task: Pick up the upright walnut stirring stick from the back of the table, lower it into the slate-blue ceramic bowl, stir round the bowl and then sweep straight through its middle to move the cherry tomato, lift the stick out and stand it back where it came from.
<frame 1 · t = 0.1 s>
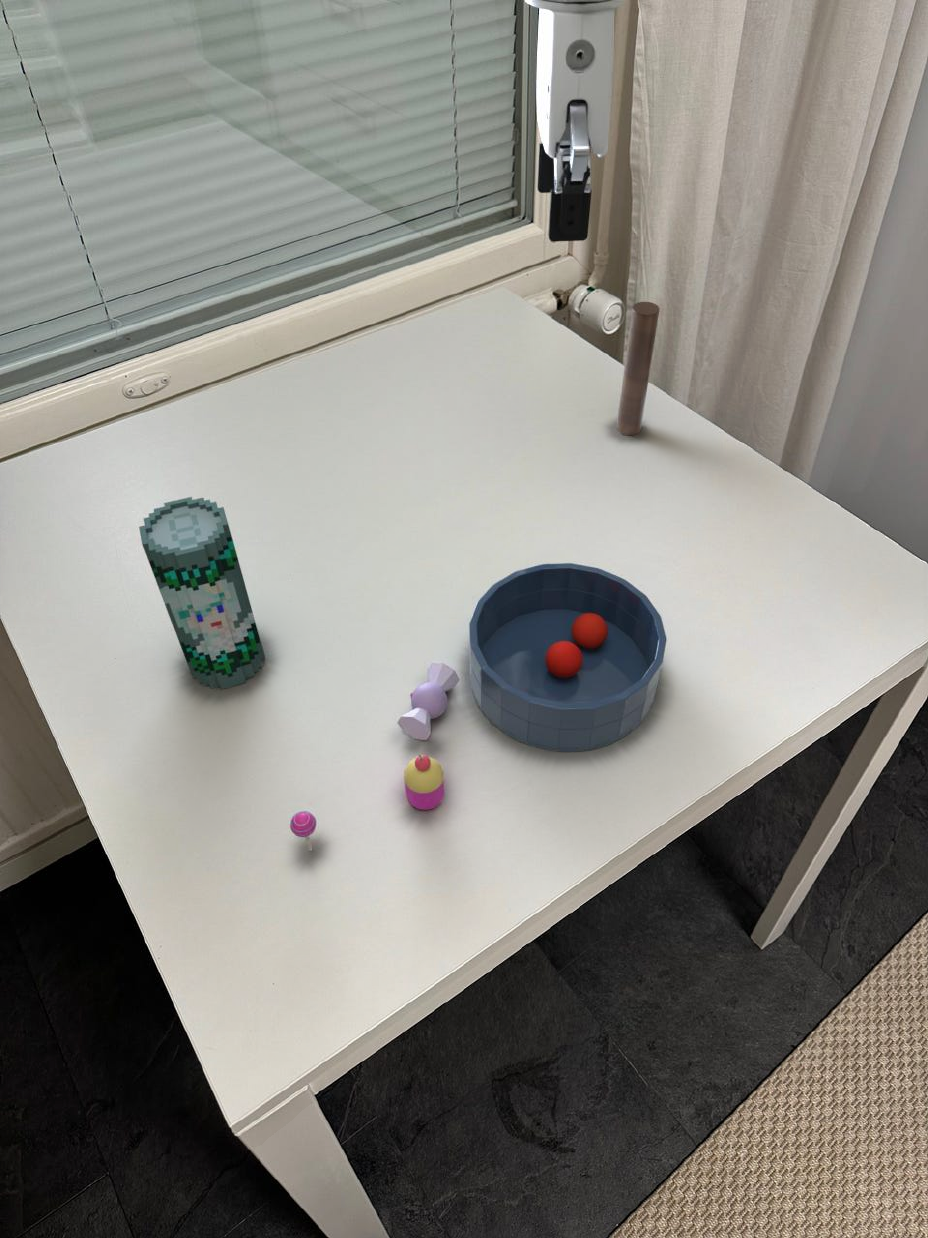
hand: (561, 214, 77), 24 cm above the table, tool pointing down, fingers open, 9 cm apart
bowl: (562, 675, 74), on the table
tomato a: (563, 659, 72), point 2 cm above the table, touching bowl
can: (227, 661, 75), on the table
stick: (628, 428, 97), on the table
tomato b: (589, 630, 74), point 2 cm above the table, touching bowl
candy: (399, 774, 67), on the table
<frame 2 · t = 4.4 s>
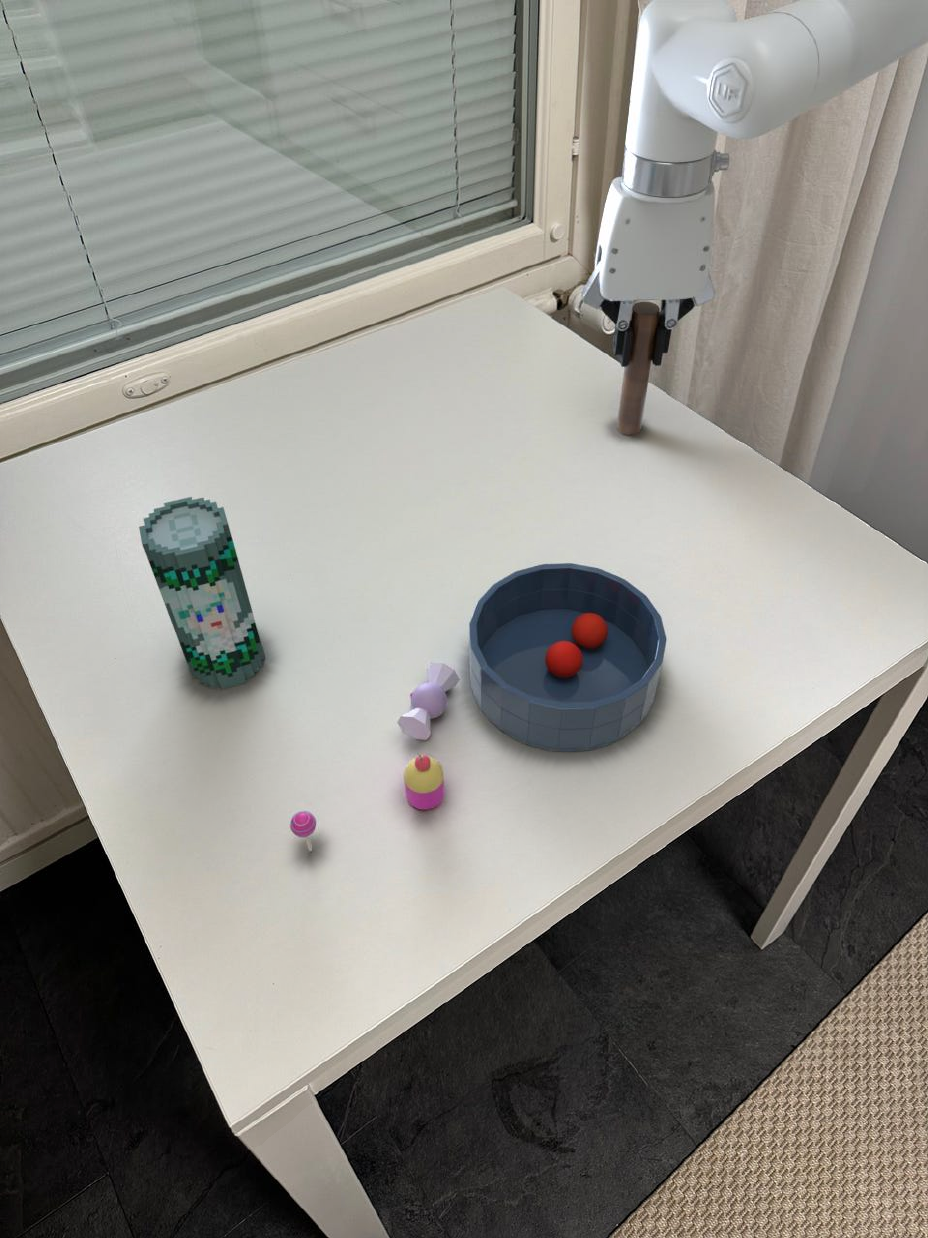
hand: (638, 357, 90), 9 cm above the table, tool pointing down, fingers closed on stick, 2 cm apart
stick: (628, 428, 97), on the table, touching gripper
everything else where it was.
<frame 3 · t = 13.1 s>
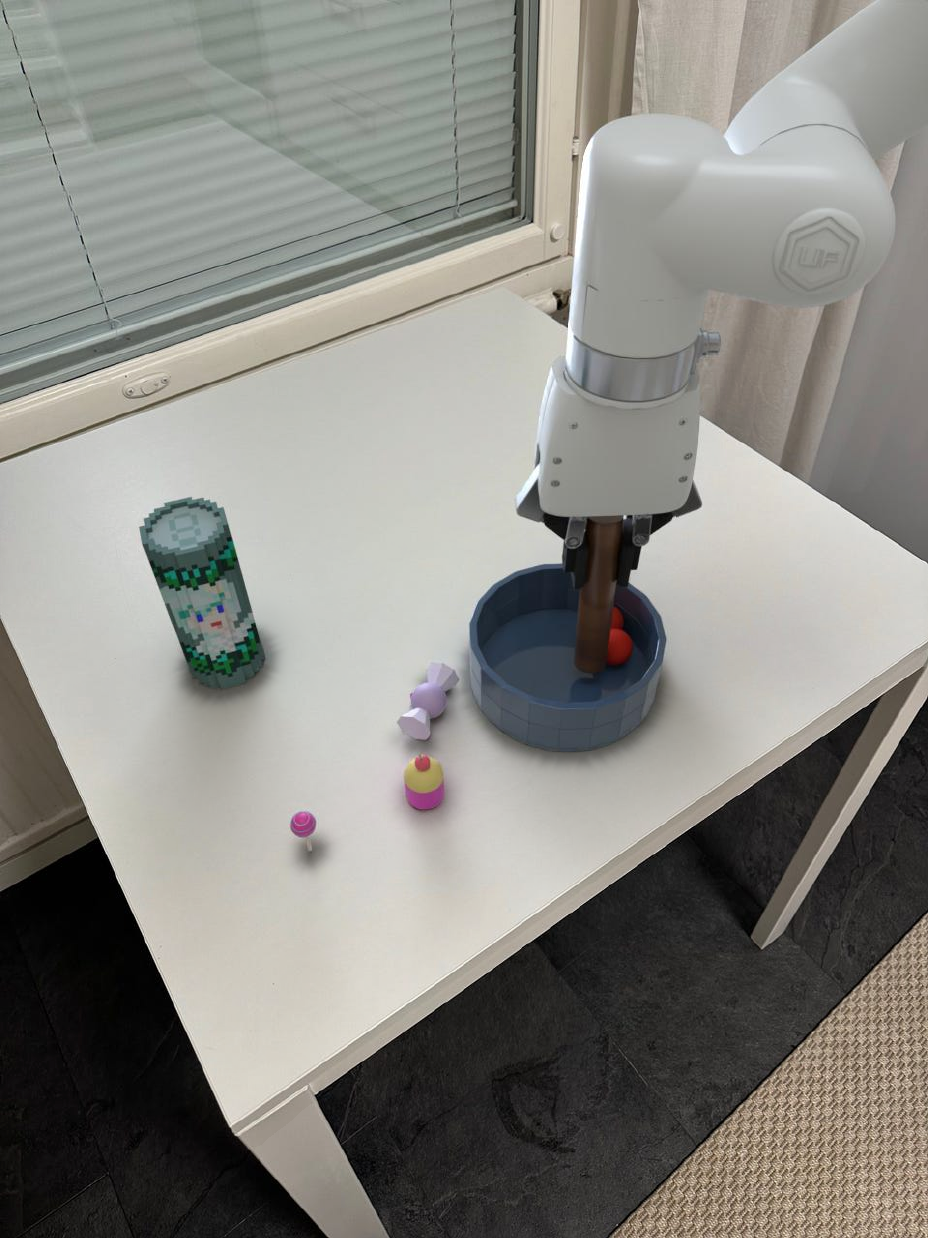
hand: (597, 573, 66), 11 cm above the table, tool pointing down, fingers closed on stick, 2 cm apart
tomato a: (614, 647, 73), point 2 cm above the table, tilted 143°, touching stick, tomato b
stick: (590, 663, 71), point 2 cm above the table, tilted 9°, touching gripper, tomato a
tomato b: (605, 622, 75), point 2 cm above the table, tilted 68°, touching bowl, tomato a
everything else where it was.
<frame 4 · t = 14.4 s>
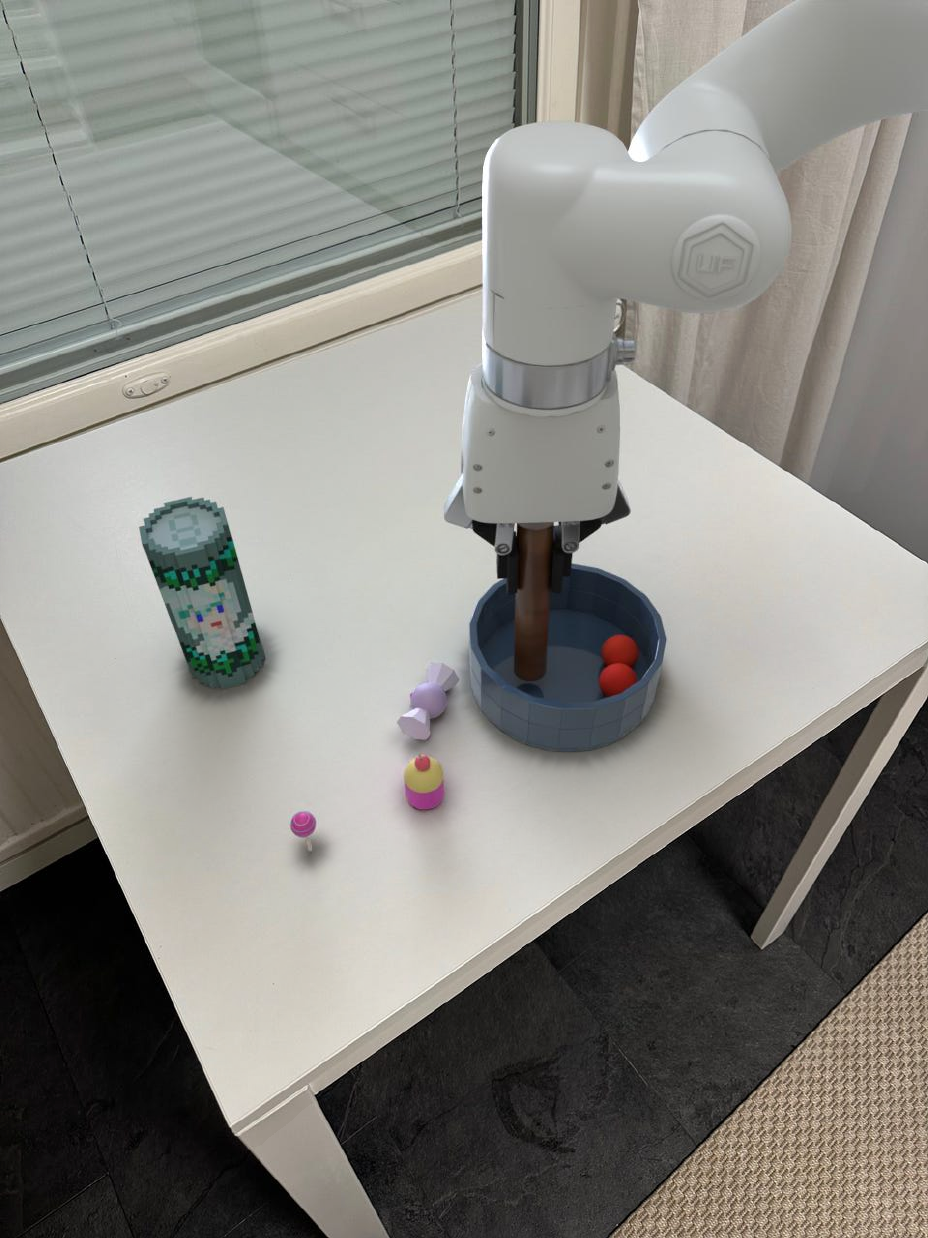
hand: (532, 579, 66), 11 cm above the table, tool pointing down, fingers closed on stick, 2 cm apart
tomato a: (618, 682, 70), point 2 cm above the table, tilted 130°, touching bowl
stick: (530, 670, 71), point 2 cm above the table, tilted 10°, touching gripper
tomato b: (620, 653, 72), point 2 cm above the table, tilted 55°, touching bowl
everything else where it was.
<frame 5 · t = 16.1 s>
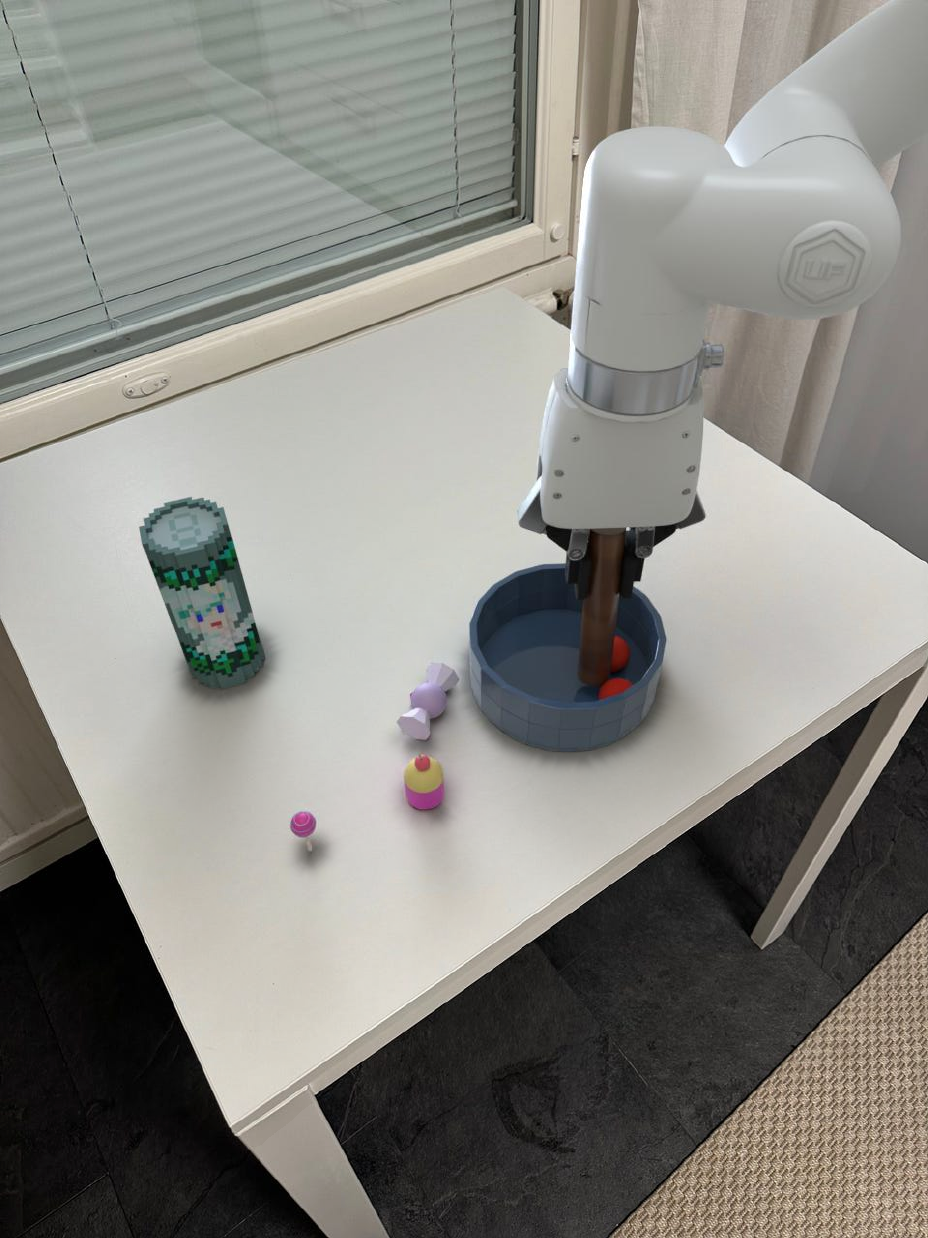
hand: (601, 584, 66), 10 cm above the table, tool pointing down, fingers closed on stick, 2 cm apart
tomato a: (618, 697, 69), point 2 cm above the table, tilted 74°, touching bowl, stick
stick: (593, 675, 71), point 2 cm above the table, tilted 10°, touching gripper, tomato a
tomato b: (611, 653, 72), point 2 cm above the table, tilted 30°, touching bowl
everything else where it was.
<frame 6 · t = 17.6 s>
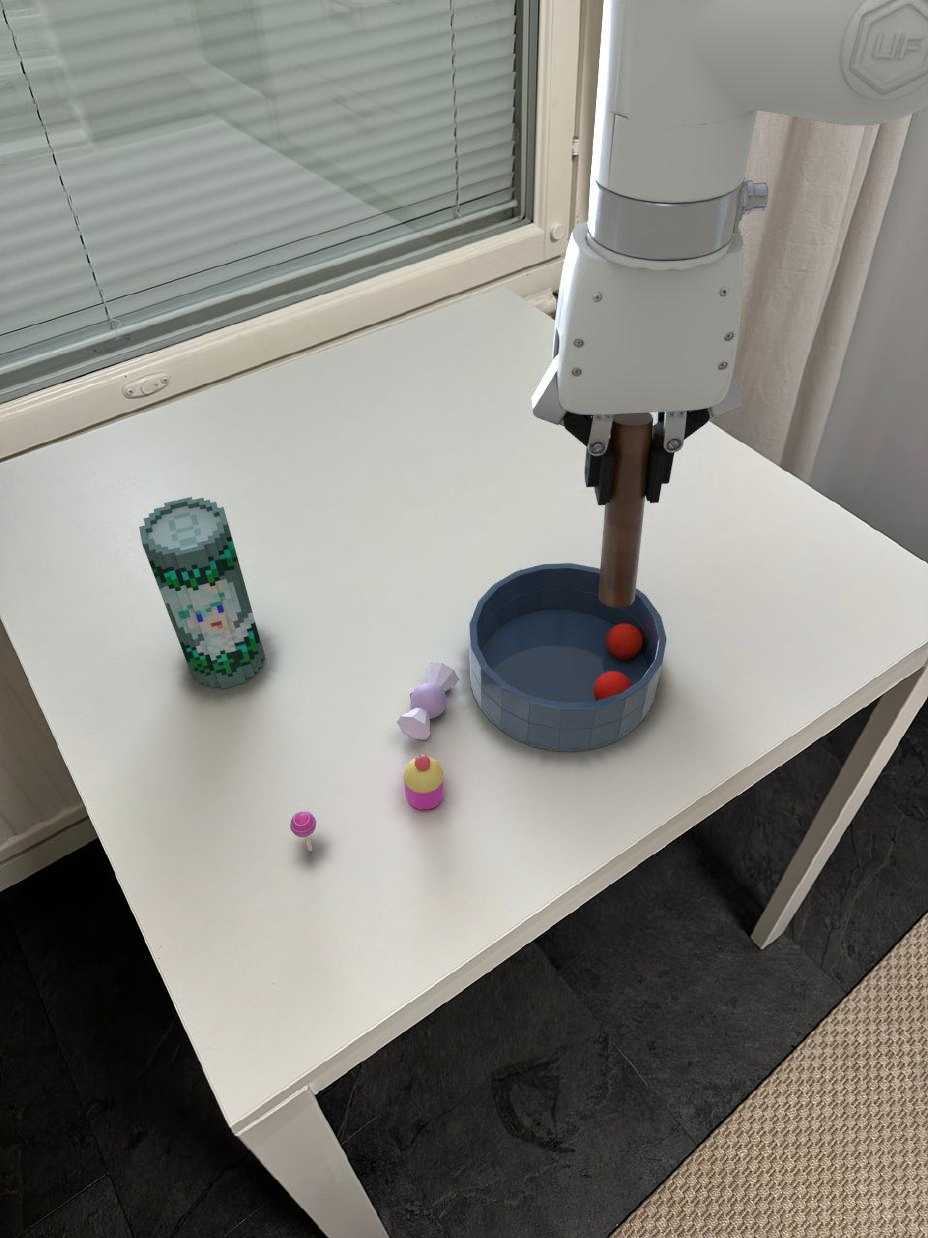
hand: (624, 488, 59), 19 cm above the table, tool pointing down, fingers closed on stick, 2 cm apart
tomato a: (613, 690, 70), point 2 cm above the table, tilted 73°, touching bowl
stick: (616, 597, 64), point 11 cm above the table, tilted 10°, touching gripper
tomato b: (624, 641, 73), point 2 cm above the table, tilted 79°, touching bowl
everything else where it was.
when the fingers open (9 cm above the table, at t = 24.4 s): stick stays where it is, on the table.
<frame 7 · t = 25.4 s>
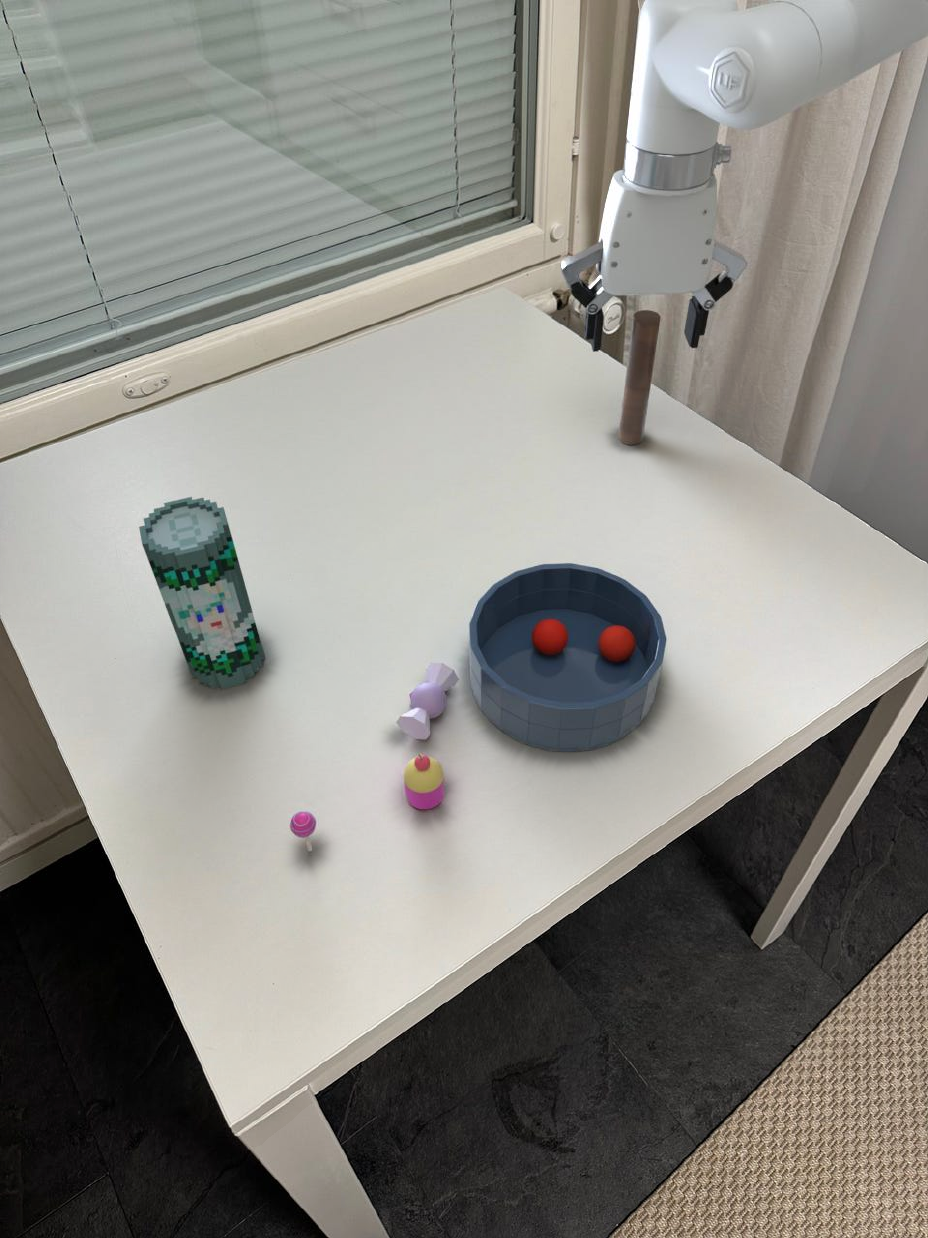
hand: (642, 342, 89), 10 cm above the table, tool pointing down, fingers open, 9 cm apart
tomato a: (549, 636, 74), point 2 cm above the table, tilted 55°, touching bowl
stick: (630, 437, 96), on the table
tomato b: (616, 643, 73), point 2 cm above the table, tilted 52°, touching bowl
everything else where it was.
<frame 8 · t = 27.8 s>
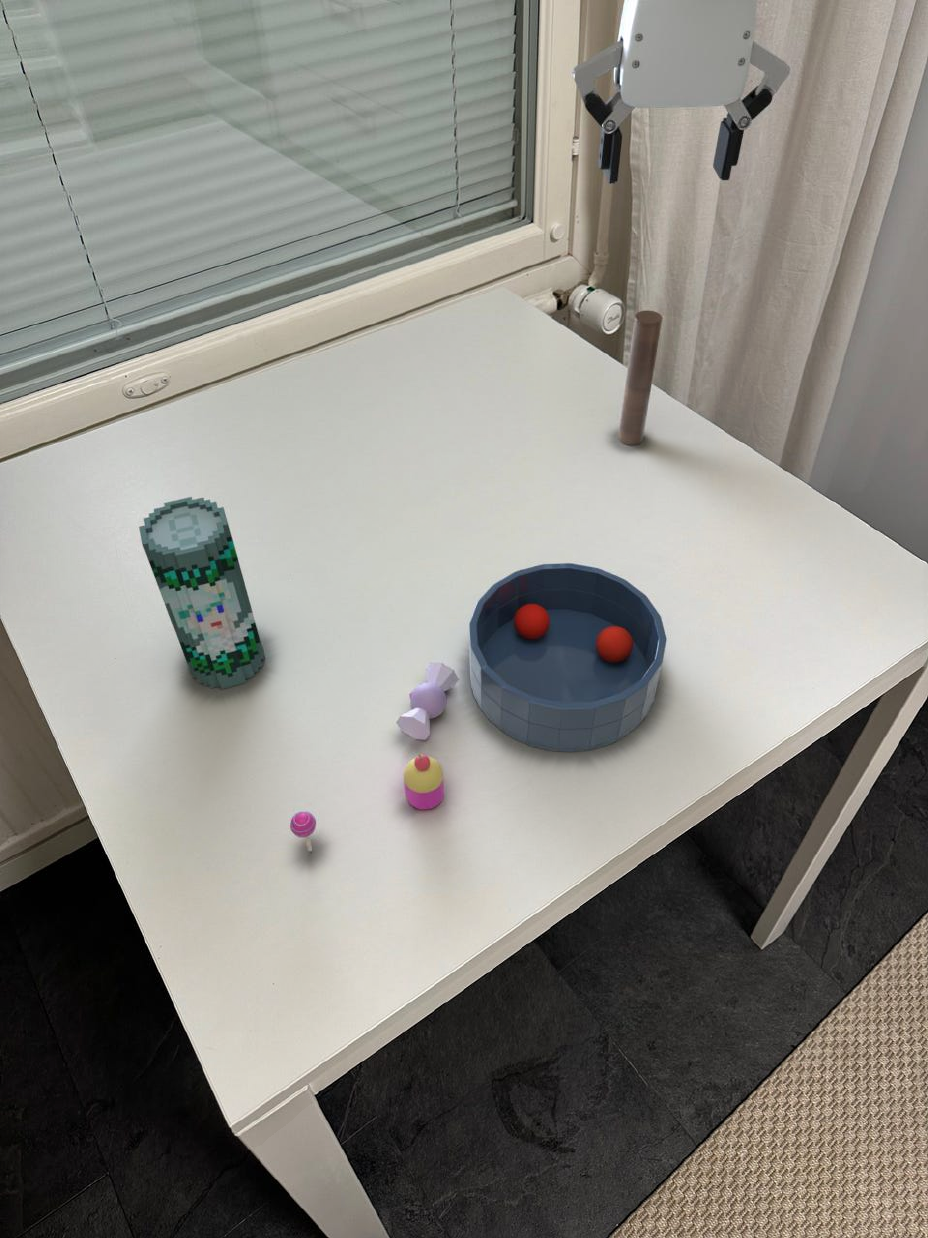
hand: (665, 175, 77), 26 cm above the table, tool pointing down, fingers open, 9 cm apart
tomato a: (531, 621, 75), point 2 cm above the table, tilted 76°, touching bowl
tomato b: (614, 644, 73), point 2 cm above the table, tilted 44°, touching bowl
everything else where it was.
at the end: tomato a moved 5.0 cm from its start; tomato a inside the target area in the bowl (5.0 cm from its centre), point 2.0 cm above the bowl's base; stick inside the target area (1.7 cm from its centre), on the table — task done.
